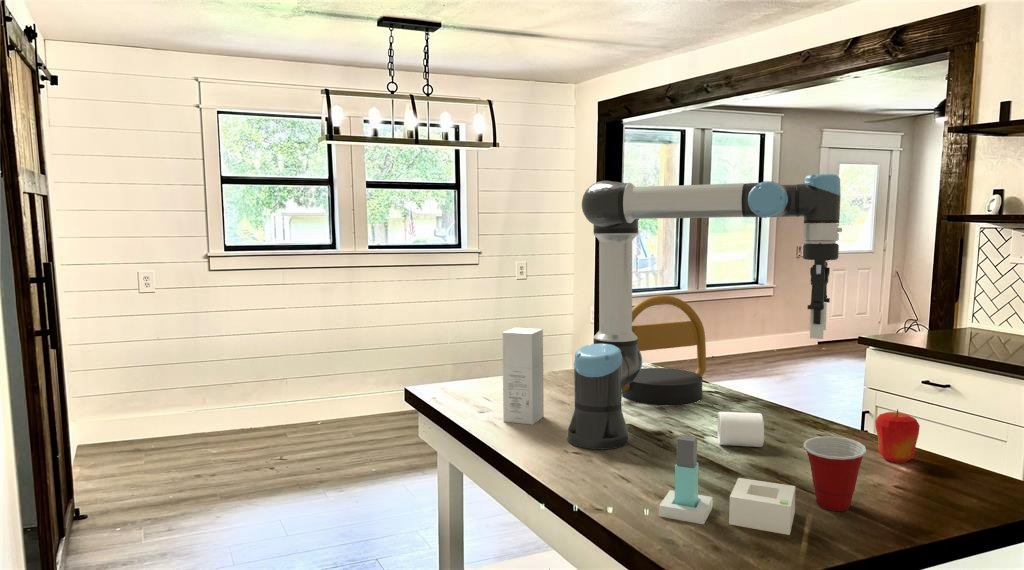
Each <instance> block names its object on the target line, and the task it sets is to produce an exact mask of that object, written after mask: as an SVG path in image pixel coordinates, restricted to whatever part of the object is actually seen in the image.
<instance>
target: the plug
mask: <svg viewBox="0 0 1024 570" xmlns="http://www.w3.org/2000/svg"><path fill="white" fill-rule="evenodd" d="M697 461H698V436H696V435H688V434H680V435H679V436H678V437H677V438H676V464H675V465H674V491H675V504H677V505H682V506H688V507H694V508H696V507H697V505H698V495H699V462H697Z"/></svg>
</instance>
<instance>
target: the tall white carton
mask: <svg viewBox="0 0 1024 570" xmlns="http://www.w3.org/2000/svg"><path fill="white" fill-rule="evenodd" d="M544 396H545V395H544V330H543V328H528V327H527V328H525V327H513V328H510V329H508V330H504V331H502V401H503V403H502V407H503V411H502V412H503V415H502V417H503V422H504V423H513V424H523V425H532V426H533V425H535V424H536V423H537V422H538V421H540V420H541V419H543V418H544V416H545V413H544V411H545V410H544V409H545V408H544V405H545V404H544V403H545V402H544V398H545V397H544Z"/></svg>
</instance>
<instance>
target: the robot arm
mask: <svg viewBox="0 0 1024 570" xmlns="http://www.w3.org/2000/svg"><path fill="white" fill-rule="evenodd" d="M841 198H842V197H841V179H840V177H839V176H838V175H836V174H833V173H832V174H830V173H829V174H828V173H826V174H824V173H823V174H822V173H821V174H819V173H818V174H809V175H806V176H805V177H804V181H803V183H798V184H780V183H778V182H775V181H768V180H767V181H761V182H750V183H748V182H747V183H744V182H743V183H742V182H741V183H740V182H739V183H716V184H715V183H714V184H713V183H712V184H710V183H709V184H683V185H680V184H679V185H655V186H653V185H652V186H651V185H650V186H635V185H634V184H633V183H632V182H619V181H611V180H601V181H597V182H595V183H593V184H591V185H590V186H589V187H588V188H587V189H586V190H585V192H584V193H583V195H582V199H581V209H582V213H583V215H584V217H585V219H586V220H587V221H588V222H589V223H591V224H592V225H593V236H594V237H595V238H597V240H598V242H599V245H598V246H599V247H598V251H599V253H598V254H599V255H598V256H599V258H598V261H599V262H598V263H599V264H598V265H599V269H598V270H599V273H598V275H599V277H598V278H599V280H598V281H599V284H598V285H599V286H598V287H599V289H598V291H599V295H598V296H599V301H598V302H599V304H598V305H599V309H598V311H599V314H598V318H599V323H598V326H599V327H598V329H599V330H598V331H597V332H596V334H595V335H593V343H592V344H591V343H590V345H589V344H588V345H587V344H586V345H584V346H581V347H579V348H578V349H577V350H576V352H575V354H574V362H573V368H574V370H573V371H574V376H573V377H574V378H573V380H574V410H573V413H572V416H571V420H570V422H569V425H568V429H567V441H568V442H569V443H571V445H574V446H576V447H579V448H585V449H592V450H609V449H617V448H620V447H624V446H626V445H627V444H628V443H629V441H630V440H629V434H630V433H629V430H628V429H629V428H628V426H627V423H626V421H625V417H624V414H623V411H622V408H623V407H622V397H623V396H622V388H623V387H624V386H626V385H628V384H630V383H631V382H632V381H633V380H634V379H635V378H636V377H637V376H638V374H639V372H640V370H641V369H642V367H643V357H642V353H641V351H639V349H638V337H637V336H636V335H635V334H634V333H633V332H632V326H633V322H632V308H633V241H634V239H635V238H636V237H637V236H638V235H639V220H641V219H642V220H644V219H645V220H647V219H694V218H695V219H700V218H701V219H702V218H703V219H706V218H707V219H710V218H714V219H715V218H716V219H717V218H762V219H763V218H764V219H766V218H791V217H795V218H796V217H797V218H798V217H802V218H803V223H802V225H803V226H802V227H803V229H802V241H804V242H805V243H803V244H802V258H803V260H805V261H806V260H807V261H814V263H813V265H812V266H811V267H810V269H809V271H810V272H809V275H810V285H811V296H810V304H807V310H810V319H809V321H810V324H809V329H810V330H809V339H816V340H817V339H818V340H819V339H820V340H824V331H827V307H828V304H827V303H830V301H831V299H830V298H829V297H828V295H827V294H828V293H827V291H828V290H827V289H828V287H827V286H828V283H829V276H830V271H831V270H830V267H828V265H829V264H828V261H835V260H838V259H839V252H840V251H839V249H840V248H839V247H840V245H839V244H838V243H837V242H838V241H839V240H840V234H839V233H841V232H843V228H842V227H839V226H840V217H841V215H840V214H841V213H840V212H841Z"/></svg>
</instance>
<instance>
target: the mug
mask: <svg viewBox="0 0 1024 570" xmlns="http://www.w3.org/2000/svg"><path fill="white" fill-rule="evenodd" d="M716 430H717V431H716V432H717V442H718V445H720V446H732V447H733V446H735V447H736V446H737V447H755V448H762V447H763V446H764V441H765V424H764V417H763V414H762V413H758V412H756V413H755V412H737V411H735V412H734V411H718V413H717V429H716Z"/></svg>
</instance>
